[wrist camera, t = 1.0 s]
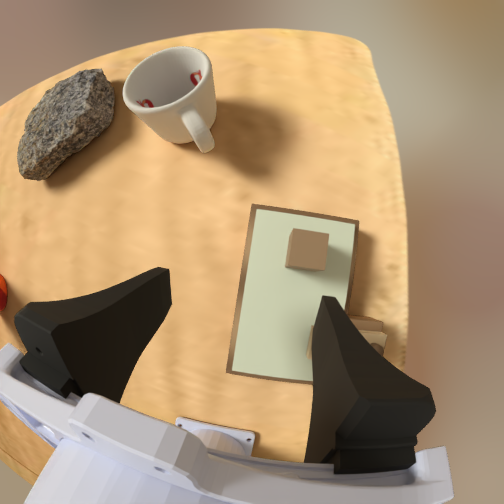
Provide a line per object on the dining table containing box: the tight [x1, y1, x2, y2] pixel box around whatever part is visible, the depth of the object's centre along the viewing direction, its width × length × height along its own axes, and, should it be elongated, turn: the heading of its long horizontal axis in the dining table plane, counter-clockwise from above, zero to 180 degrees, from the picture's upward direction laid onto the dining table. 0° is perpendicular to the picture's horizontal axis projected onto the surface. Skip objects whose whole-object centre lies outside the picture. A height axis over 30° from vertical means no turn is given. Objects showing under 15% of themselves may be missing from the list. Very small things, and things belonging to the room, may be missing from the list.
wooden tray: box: [226, 204, 383, 385], centre depth 22 cm, size 14×12×3 cm
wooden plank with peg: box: [306, 325, 387, 359], centre depth 19 cm, size 2×6×2 cm, turn 81°
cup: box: [123, 46, 217, 153], centre depth 22 cm, size 11×8×8 cm
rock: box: [17, 69, 115, 181], centre depth 24 cm, size 13×6×15 cm
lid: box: [232, 209, 355, 381], centre depth 19 cm, size 13×8×4 cm, turn 171°
